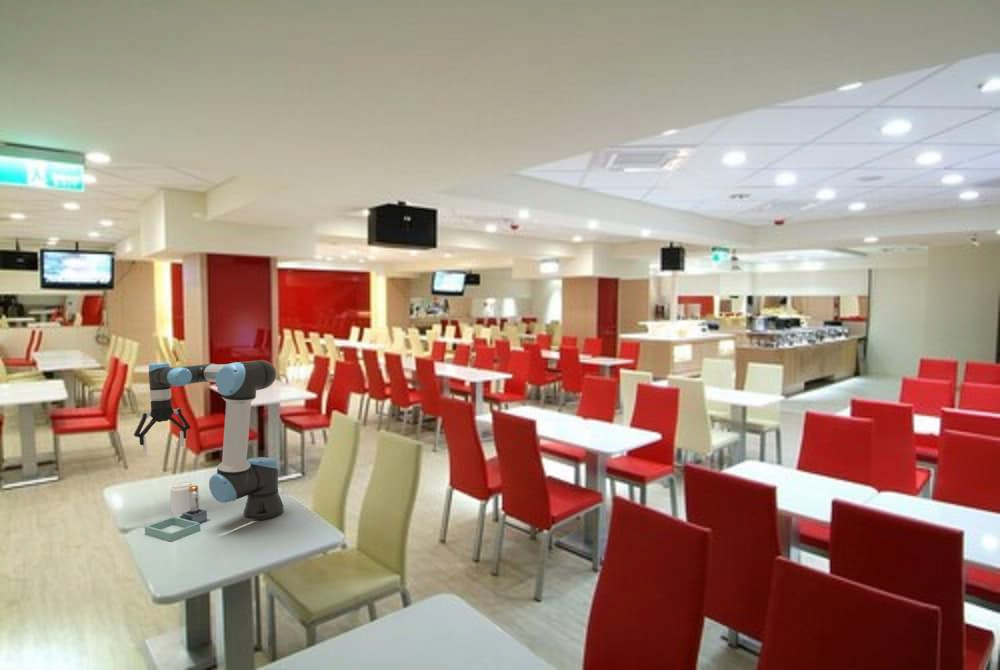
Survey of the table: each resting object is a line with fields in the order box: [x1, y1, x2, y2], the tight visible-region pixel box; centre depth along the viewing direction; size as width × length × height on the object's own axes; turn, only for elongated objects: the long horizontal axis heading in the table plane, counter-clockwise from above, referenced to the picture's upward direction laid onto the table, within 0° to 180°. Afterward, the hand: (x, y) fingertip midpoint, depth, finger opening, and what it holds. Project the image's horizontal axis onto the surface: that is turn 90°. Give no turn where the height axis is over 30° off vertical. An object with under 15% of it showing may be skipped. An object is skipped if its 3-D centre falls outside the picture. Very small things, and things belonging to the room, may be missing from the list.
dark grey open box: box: [179, 508, 211, 525], centre depth 213 cm, size 12×8×5 cm, turn 63°
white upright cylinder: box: [170, 481, 194, 515], centre depth 225 cm, size 8×8×12 cm
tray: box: [144, 516, 201, 542], centre depth 202 cm, size 16×11×4 cm
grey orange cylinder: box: [189, 485, 200, 515], centre depth 212 cm, size 3×3×14 cm
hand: (164, 449), depth 227 cm, fingers open, 13 cm apart
